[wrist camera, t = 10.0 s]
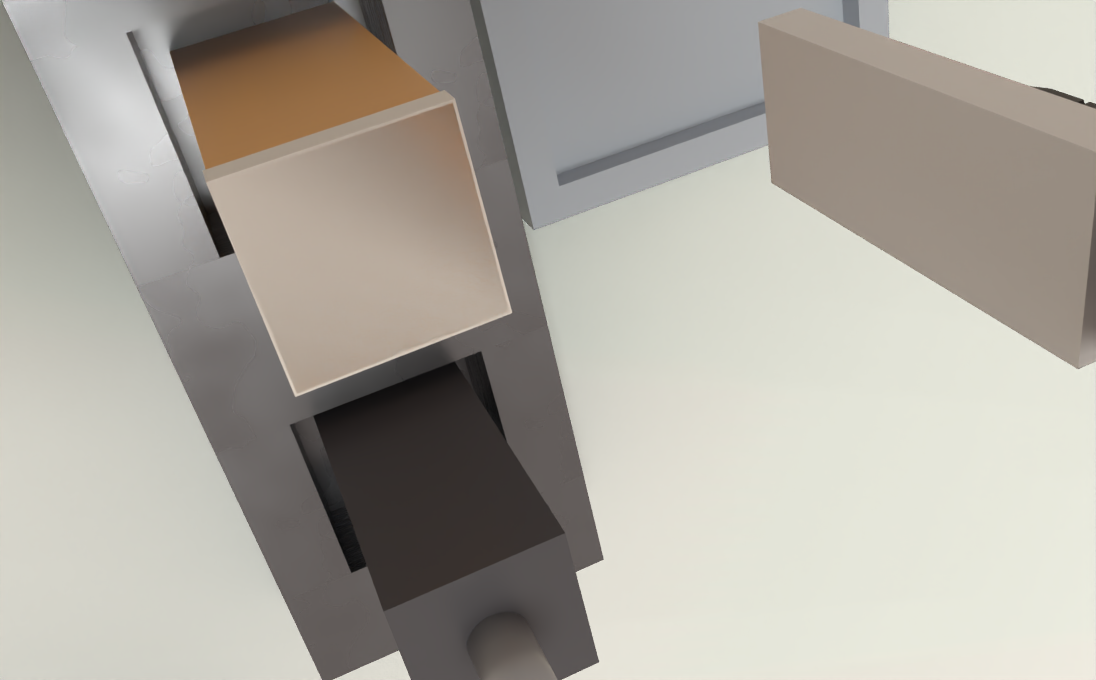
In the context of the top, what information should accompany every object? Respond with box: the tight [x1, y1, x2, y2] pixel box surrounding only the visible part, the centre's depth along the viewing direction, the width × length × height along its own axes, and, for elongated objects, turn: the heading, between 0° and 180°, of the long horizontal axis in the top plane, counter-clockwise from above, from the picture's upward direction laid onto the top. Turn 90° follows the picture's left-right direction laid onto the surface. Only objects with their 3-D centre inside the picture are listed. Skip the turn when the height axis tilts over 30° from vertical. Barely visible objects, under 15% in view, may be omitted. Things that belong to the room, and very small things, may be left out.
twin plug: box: [313, 361, 599, 680], centre depth 26 cm, size 4×4×12 cm
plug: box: [170, 1, 512, 397], centre depth 22 cm, size 4×4×10 cm
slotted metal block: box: [1, 0, 604, 680], centre depth 27 cm, size 22×9×4 cm, turn 13°
